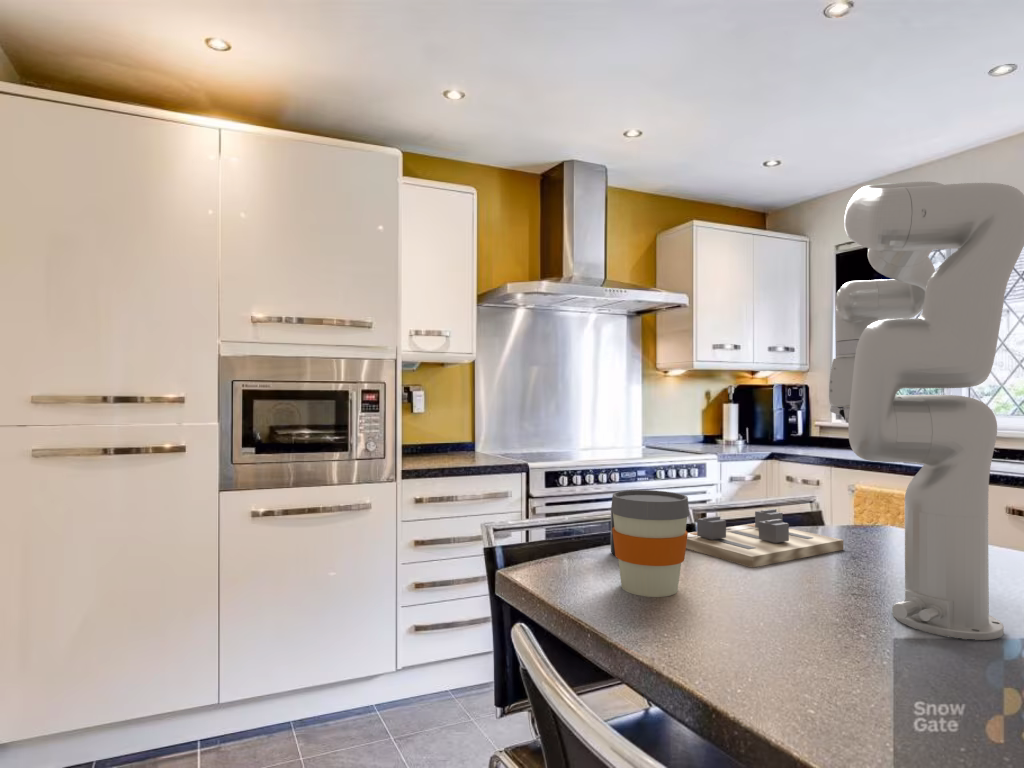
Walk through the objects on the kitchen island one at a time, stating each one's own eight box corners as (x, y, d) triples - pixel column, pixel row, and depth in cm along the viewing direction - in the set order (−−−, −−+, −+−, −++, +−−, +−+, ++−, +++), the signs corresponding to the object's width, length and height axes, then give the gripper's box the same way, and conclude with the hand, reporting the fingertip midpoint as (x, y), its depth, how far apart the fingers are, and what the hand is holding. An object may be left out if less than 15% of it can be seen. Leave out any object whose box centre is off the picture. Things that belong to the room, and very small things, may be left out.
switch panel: (752, 567, 113) (752, 555, 113) (672, 544, 131) (672, 534, 131) (843, 549, 127) (843, 538, 127) (760, 530, 145) (760, 521, 145)
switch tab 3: (775, 543, 123) (775, 522, 123) (758, 539, 126) (758, 519, 126) (789, 540, 125) (789, 520, 125) (771, 536, 128) (772, 517, 128)
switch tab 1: (711, 539, 125) (712, 519, 125) (696, 535, 129) (697, 516, 129) (726, 537, 127) (726, 518, 127) (711, 533, 131) (711, 514, 131)
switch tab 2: (770, 530, 134) (770, 512, 134) (754, 527, 138) (754, 509, 138) (782, 528, 136) (782, 510, 136) (767, 525, 140) (767, 507, 140)
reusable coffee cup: (662, 574, 109) (662, 488, 109) (705, 596, 97) (705, 500, 97) (597, 580, 105) (597, 491, 105) (634, 604, 93) (634, 503, 93)
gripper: (906, 349, 119) (908, 444, 118) (831, 355, 132) (832, 441, 131) (886, 346, 115) (887, 445, 114) (810, 352, 128) (811, 441, 127)
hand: (858, 442), depth 123 cm, fingers closed
